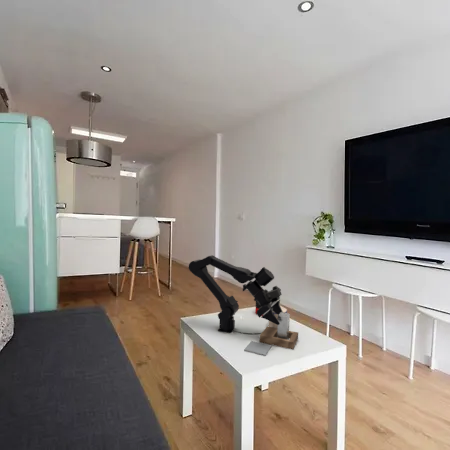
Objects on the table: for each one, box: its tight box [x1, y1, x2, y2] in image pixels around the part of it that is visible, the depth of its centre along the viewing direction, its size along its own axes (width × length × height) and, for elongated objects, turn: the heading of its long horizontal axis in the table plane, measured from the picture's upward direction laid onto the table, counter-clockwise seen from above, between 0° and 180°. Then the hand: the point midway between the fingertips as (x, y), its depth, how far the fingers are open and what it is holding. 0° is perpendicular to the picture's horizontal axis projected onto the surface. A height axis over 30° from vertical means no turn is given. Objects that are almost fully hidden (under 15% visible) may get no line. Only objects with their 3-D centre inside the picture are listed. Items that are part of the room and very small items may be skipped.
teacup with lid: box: [267, 305, 288, 328], centre depth 142 cm, size 12×9×12 cm
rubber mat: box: [243, 340, 273, 357], centre depth 119 cm, size 9×9×1 cm
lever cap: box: [277, 312, 291, 340], centre depth 126 cm, size 4×5×12 cm
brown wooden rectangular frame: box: [259, 326, 299, 350], centre depth 127 cm, size 14×11×3 cm
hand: (281, 320), depth 126 cm, fingers open, 9 cm apart
